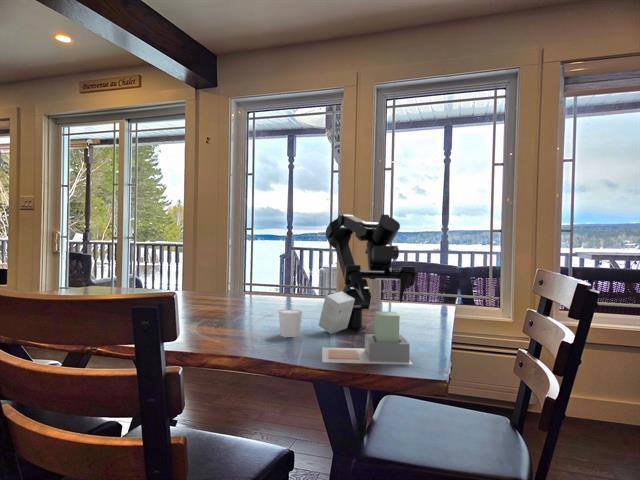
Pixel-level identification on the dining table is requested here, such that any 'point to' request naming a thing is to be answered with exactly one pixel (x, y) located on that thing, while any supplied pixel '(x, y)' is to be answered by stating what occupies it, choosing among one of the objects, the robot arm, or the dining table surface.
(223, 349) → the dining table surface
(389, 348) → the white board with socket
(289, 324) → the white cup
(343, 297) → the small box
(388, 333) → the plug
